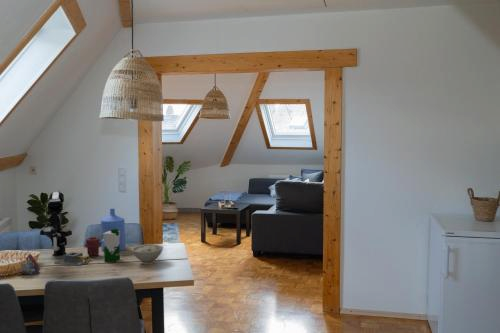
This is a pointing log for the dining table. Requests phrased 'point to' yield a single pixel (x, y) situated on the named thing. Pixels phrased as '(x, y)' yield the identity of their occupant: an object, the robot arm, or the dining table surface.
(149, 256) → the bowl
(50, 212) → the robot arm
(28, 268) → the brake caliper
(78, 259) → the square socket plate
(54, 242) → the gray square beam
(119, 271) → the dining table surface
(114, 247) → the milk carton
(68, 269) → the dining table surface
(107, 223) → the water jug
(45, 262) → the dining table surface
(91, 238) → the mechanical component
